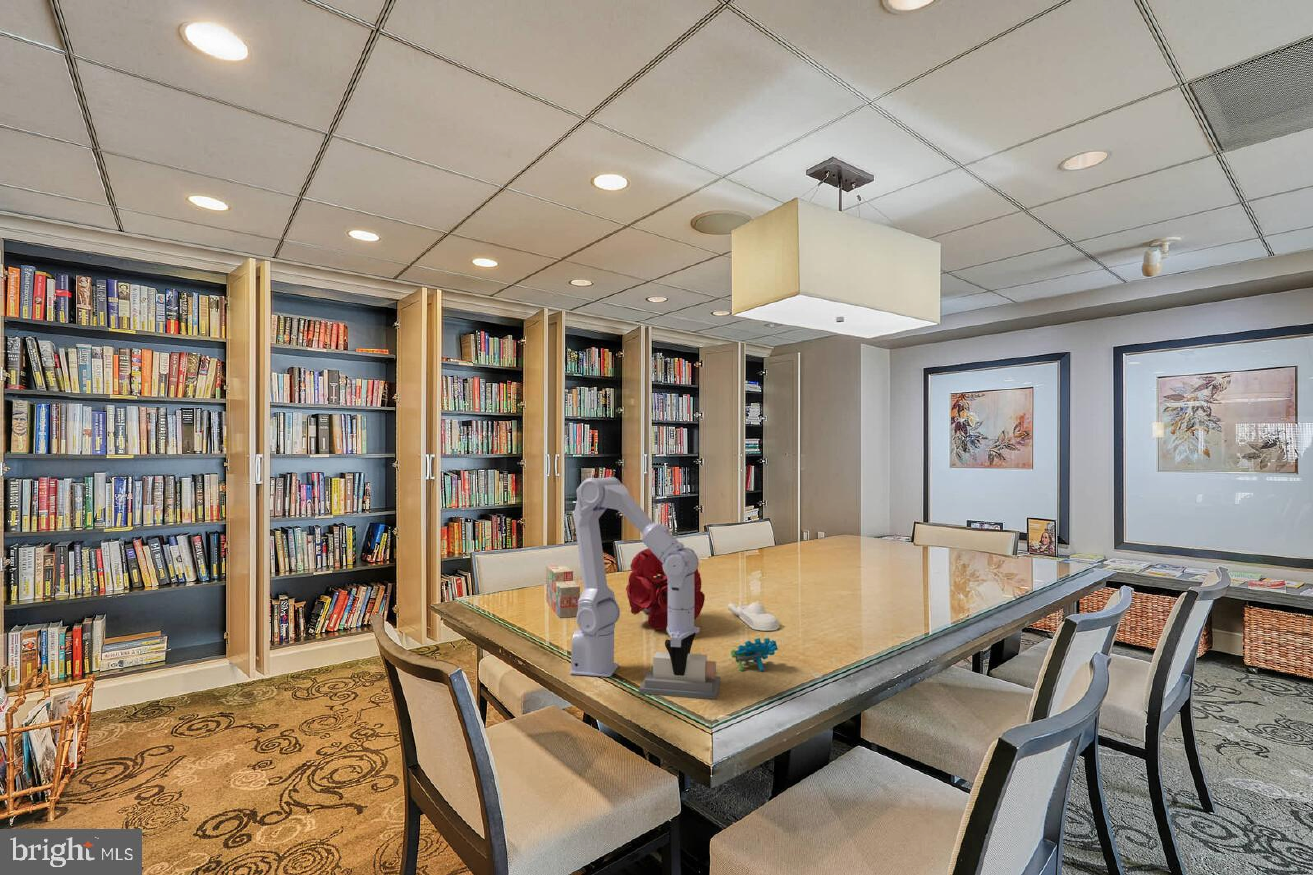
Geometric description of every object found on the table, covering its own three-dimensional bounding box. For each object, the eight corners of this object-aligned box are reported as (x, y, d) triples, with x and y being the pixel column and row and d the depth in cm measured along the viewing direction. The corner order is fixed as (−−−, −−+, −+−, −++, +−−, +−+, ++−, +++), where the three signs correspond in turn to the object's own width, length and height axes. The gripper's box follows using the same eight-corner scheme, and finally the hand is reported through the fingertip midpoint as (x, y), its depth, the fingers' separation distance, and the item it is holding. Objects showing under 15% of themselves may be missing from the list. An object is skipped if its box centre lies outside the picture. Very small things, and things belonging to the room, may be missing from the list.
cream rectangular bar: (653, 681, 125) (653, 657, 126) (656, 674, 129) (656, 651, 130) (714, 686, 123) (714, 661, 123) (716, 679, 127) (716, 655, 127)
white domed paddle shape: (752, 634, 165) (752, 612, 165) (727, 614, 184) (727, 596, 184) (786, 631, 167) (786, 610, 167) (759, 613, 187) (759, 594, 187)
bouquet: (613, 642, 177) (640, 614, 153) (610, 566, 189) (634, 529, 165) (682, 641, 183) (717, 614, 159) (674, 567, 195) (706, 532, 171)
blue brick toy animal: (774, 652, 143) (777, 632, 136) (781, 676, 139) (785, 657, 132) (729, 659, 143) (730, 639, 136) (735, 684, 139) (736, 664, 132)
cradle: (639, 693, 123) (639, 681, 123) (648, 675, 133) (648, 664, 133) (716, 699, 120) (716, 687, 120) (720, 681, 130) (720, 669, 130)
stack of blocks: (580, 616, 181) (580, 576, 182) (559, 618, 179) (560, 577, 179) (564, 600, 201) (564, 564, 201) (545, 602, 199) (546, 565, 199)
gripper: (695, 616, 119) (695, 685, 119) (703, 599, 133) (703, 660, 133) (660, 614, 120) (660, 682, 120) (672, 597, 134) (672, 658, 134)
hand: (680, 670), depth 126 cm, fingers closed on cream rectangular bar, 4 cm apart
